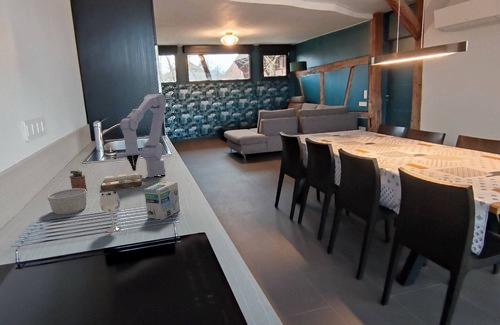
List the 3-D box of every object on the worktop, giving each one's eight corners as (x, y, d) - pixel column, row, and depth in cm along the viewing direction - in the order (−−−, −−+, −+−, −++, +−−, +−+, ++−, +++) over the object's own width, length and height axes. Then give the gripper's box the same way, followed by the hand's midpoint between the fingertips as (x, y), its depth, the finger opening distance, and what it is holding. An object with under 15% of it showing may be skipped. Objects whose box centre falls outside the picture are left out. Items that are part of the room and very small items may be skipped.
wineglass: (116, 224, 112) (111, 190, 110) (127, 227, 109) (122, 192, 106) (100, 230, 107) (95, 194, 105) (111, 234, 104) (105, 197, 102)
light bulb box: (162, 220, 114) (159, 189, 111) (146, 218, 116) (143, 188, 114) (180, 210, 123) (178, 181, 121) (165, 208, 126) (162, 180, 124)
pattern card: (140, 179, 164) (140, 178, 164) (140, 181, 160) (140, 180, 160) (103, 183, 160) (102, 182, 160) (101, 185, 156) (101, 184, 156)
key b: (127, 180, 168) (126, 174, 168) (126, 181, 164) (126, 175, 164) (119, 181, 167) (118, 175, 167) (118, 182, 163) (117, 176, 163)
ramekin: (62, 218, 122) (59, 200, 120) (43, 213, 129) (40, 195, 127) (95, 207, 133) (93, 190, 131) (76, 203, 140) (73, 186, 138)
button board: (142, 179, 174) (142, 174, 174) (141, 186, 160) (141, 181, 159) (105, 183, 170) (104, 178, 169) (101, 191, 155) (100, 186, 155)
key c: (114, 181, 167) (113, 175, 166) (113, 183, 163) (113, 177, 162) (106, 182, 166) (105, 176, 165) (105, 184, 162) (104, 178, 161)
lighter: (89, 190, 158) (86, 169, 156) (83, 192, 155) (80, 171, 153) (75, 190, 160) (72, 169, 158) (70, 192, 157) (66, 171, 155)
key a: (140, 178, 170) (139, 172, 169) (139, 180, 166) (139, 174, 165) (131, 179, 169) (130, 173, 168) (131, 181, 165) (130, 175, 164)
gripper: (114, 145, 158) (118, 173, 161) (146, 142, 162) (149, 170, 165) (115, 143, 165) (119, 170, 167) (146, 141, 169) (149, 167, 171)
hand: (134, 170), depth 166 cm, fingers closed
